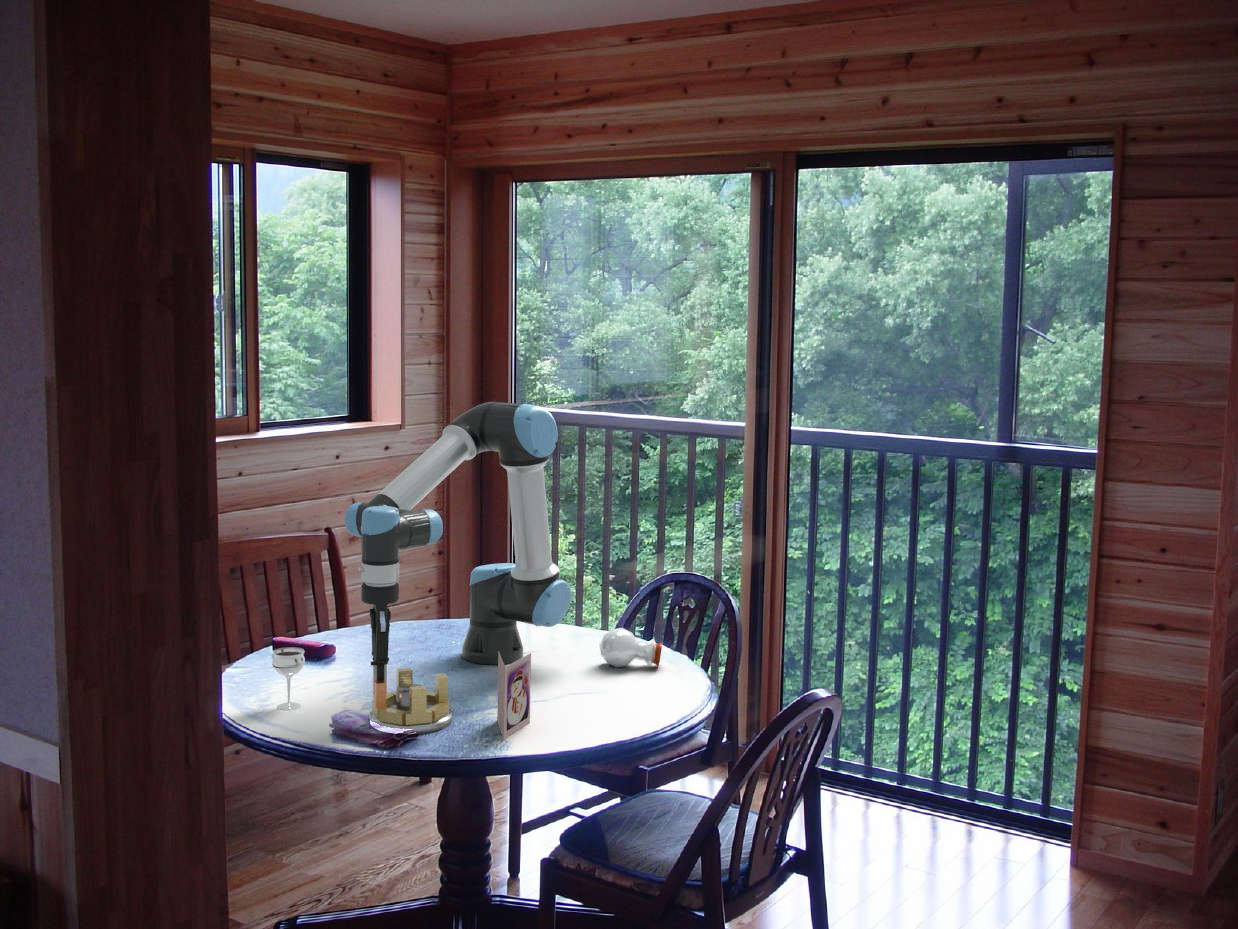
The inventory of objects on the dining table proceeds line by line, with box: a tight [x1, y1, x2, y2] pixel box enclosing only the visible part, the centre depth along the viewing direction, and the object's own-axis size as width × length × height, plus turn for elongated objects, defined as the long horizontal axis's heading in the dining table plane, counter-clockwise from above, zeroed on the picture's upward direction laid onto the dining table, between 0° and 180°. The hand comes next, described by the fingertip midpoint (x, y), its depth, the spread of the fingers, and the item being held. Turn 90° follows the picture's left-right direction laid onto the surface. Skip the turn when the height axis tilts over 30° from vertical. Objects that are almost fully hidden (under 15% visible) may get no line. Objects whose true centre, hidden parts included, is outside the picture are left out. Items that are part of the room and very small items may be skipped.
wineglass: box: [271, 647, 306, 711], centre depth 255 cm, size 7×7×12 cm
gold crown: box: [371, 667, 451, 725], centre depth 248 cm, size 15×15×7 cm
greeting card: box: [496, 651, 532, 740], centre depth 245 cm, size 11×7×15 cm, turn 157°
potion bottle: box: [599, 627, 663, 668], centre depth 292 cm, size 9×10×15 cm
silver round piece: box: [368, 683, 453, 735], centre depth 248 cm, size 17×17×7 cm
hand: (379, 693), depth 247 cm, fingers closed
